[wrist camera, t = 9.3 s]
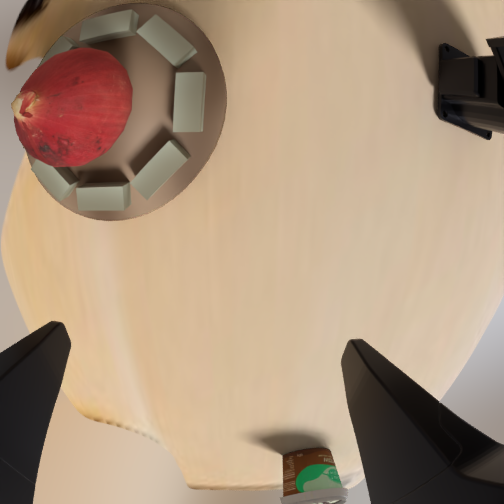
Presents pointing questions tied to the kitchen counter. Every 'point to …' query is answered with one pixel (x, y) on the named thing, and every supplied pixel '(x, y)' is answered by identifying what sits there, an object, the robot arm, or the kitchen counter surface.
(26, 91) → the pomegranate
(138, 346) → the kitchen counter surface
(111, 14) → the display stand
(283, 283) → the kitchen counter surface
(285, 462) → the food container
